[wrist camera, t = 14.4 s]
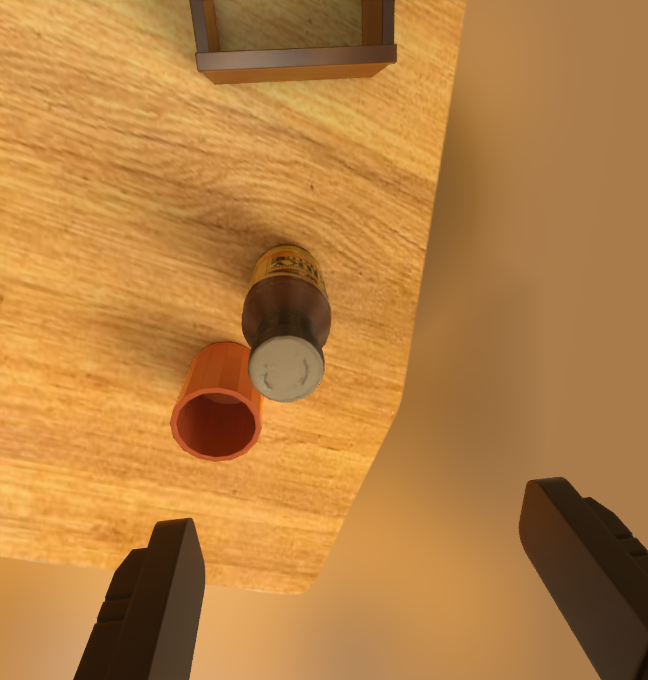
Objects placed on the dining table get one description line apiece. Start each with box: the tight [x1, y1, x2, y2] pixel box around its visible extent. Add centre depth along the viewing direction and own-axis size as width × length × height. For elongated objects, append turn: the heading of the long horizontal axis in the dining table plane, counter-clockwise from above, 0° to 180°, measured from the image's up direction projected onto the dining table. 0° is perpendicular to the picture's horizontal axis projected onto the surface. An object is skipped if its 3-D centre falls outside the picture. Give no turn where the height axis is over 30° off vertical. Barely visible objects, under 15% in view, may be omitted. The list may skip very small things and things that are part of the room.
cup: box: [170, 342, 263, 462], centre depth 40 cm, size 7×7×9 cm
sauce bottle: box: [242, 244, 331, 402], centre depth 31 cm, size 6×6×20 cm
